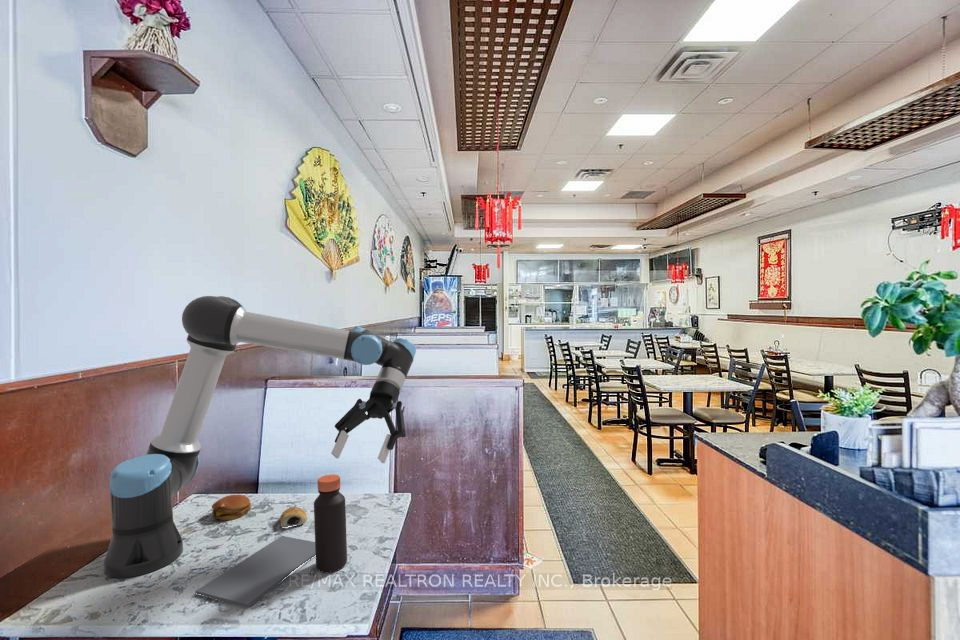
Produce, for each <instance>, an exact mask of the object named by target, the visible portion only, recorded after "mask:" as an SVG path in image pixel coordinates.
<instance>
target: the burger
mask: <svg viewBox="0 0 960 640" xmlns="http://www.w3.org/2000/svg"><path fill="white" fill-rule="evenodd" d="M211 508H212V512H211V513H212V517H214V518H215V519H216V520H220V521H222V522H228V521H233V520H237V519H239V518H241V517H243V516H245V514H247V513H249V512H250V511H251V509H252V505H251V499H250V498H249V497H248V496H246V495H242V494H231V495H226V496H224V497H222V498H220V499H218V500H216V501H215V502H214V503H213V504H212V505H211Z"/></svg>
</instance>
